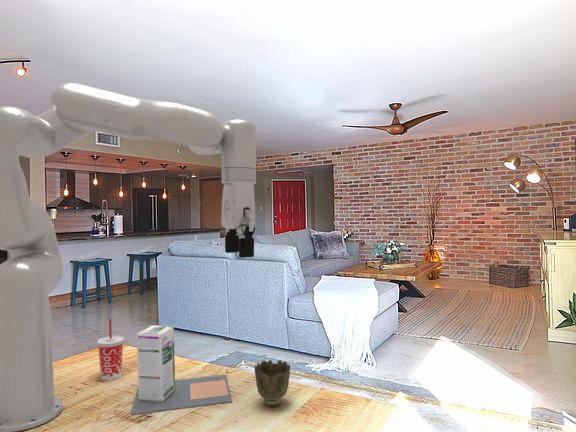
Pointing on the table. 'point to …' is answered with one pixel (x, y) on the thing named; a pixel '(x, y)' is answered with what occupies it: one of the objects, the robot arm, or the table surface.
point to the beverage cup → (110, 355)
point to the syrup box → (156, 363)
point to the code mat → (188, 395)
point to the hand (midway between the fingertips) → (238, 254)
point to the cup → (272, 381)
